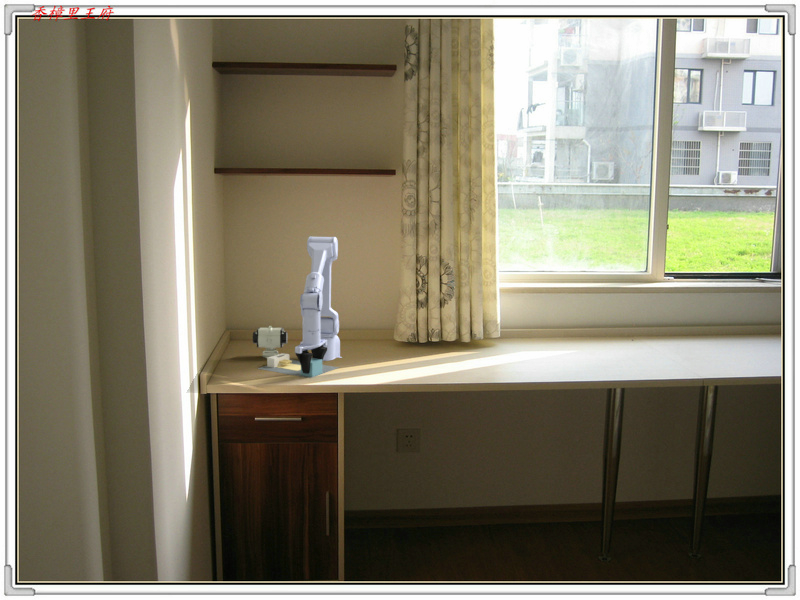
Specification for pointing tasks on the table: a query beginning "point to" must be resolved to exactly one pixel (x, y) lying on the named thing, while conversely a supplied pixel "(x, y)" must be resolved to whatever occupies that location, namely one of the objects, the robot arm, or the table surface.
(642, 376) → the table surface
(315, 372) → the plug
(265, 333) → the pneumatic valve
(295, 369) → the mat
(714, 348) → the table surface
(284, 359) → the header
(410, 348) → the table surface
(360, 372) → the table surface
